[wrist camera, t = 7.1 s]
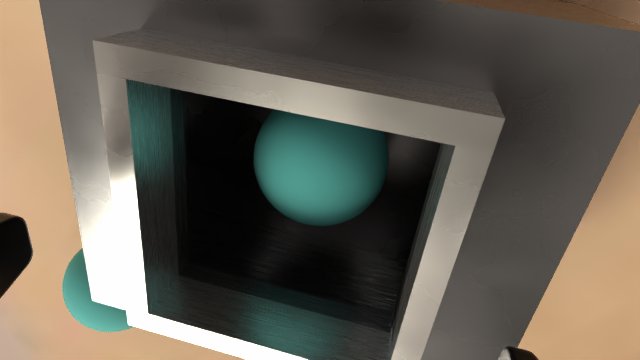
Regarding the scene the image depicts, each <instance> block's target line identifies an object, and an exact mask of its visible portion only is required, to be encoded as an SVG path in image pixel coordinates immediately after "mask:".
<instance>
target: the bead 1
mask: <svg viewBox="0 0 640 360" xmlns="http://www.w3.org/2000/svg"><path fill="white" fill-rule="evenodd" d="M63 297H64V301H65V304H66V306H67V308H68V310H69V312H70V313H71V314H72V316H73V317H74V318H75V319H76V320H77V321H78V322H80V323H81V324H83V325H84V326H86V327H88V328H91V329H94V330H97V331H103V332H116V331H122V330H126V329H129V328H132V327H134V326H132V325H128V318H127V311H126V310H123V309H119V308H116V307H112V306H109V305H105V304H102V303H98V302H95V301H92V297H91V291H90V285H89V280H88V274H87V268H86V263H85V257H84V251H83V248H82V249H81V250H80V251H79V252H78V253H77V254H76V255H75V256H74V257H73V259H72V260H71V261H70V263H69V265H68V267H67V269H66V272H65V275H64V279H63Z"/></svg>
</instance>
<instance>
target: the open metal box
mask: <svg viewBox="0 0 640 360" xmlns="http://www.w3.org/2000/svg"><path fill="white" fill-rule="evenodd" d="M39 2H40V8H41V13H42V19H43V25H44V30H45V36H46V42H47V47H48V53H49V59H50V64H51V70H52V76H53V81H54V87H55V93H56V98H57V104H58V110H59V115H60V121H61V127H62V132H63V138H64V144H65V149H66V155H67V161H68V166H69V172H70V178H71V183H72V189H73V195H74V200H75V206H76V212H77V217H78V223H79V229H80V234H81V240H82V246H83V251H84V257H85V263H86V268H87V274H88V280H89V285H90V291H91V297H92V301H95V302H98V303H102V304H105V305H109V306H112V307H116V308H119V309H123V310H126V311H127V318H128V325H132V326H135V327H139V328H142V329H145V330H149V331H152V332H156V333H159V334H163V335H166V336H169V337H173V338H176V339H180V340H183V341H187V342H190V343H193V344H197V345H200V346H204V347H207V348H211V349H214V350H218V351H221V352H224V353H228V354H231V355H235V356H238V357H242V358H245V359H248V360H498V358H499V356H500V354H501V352H502V350H503V349H504V348H505V347H507V346H512V347H516V348H517V347H518V345H519V343H520V341H521V339H522V337H523V335H524V333H525V331H526V329H527V327H528V325H529V323H530V321H531V319H532V317H533V315H534V313H535V311H536V309H537V307H538V305H539V303H540V301H541V299H542V297H543V295H544V293H545V291H546V289H547V287H548V285H549V283H550V281H551V279H552V277H553V275H554V273H555V271H556V269H557V267H558V265H559V263H560V261H561V259H562V257H563V255H564V253H565V251H566V249H567V247H568V245H569V243H570V241H571V239H572V237H573V235H574V233H575V231H576V229H577V227H578V225H579V223H580V221H581V219H582V217H583V215H584V213H585V211H586V209H587V207H588V205H589V203H590V201H591V199H592V197H593V195H594V193H595V191H596V189H597V187H598V185H599V183H600V181H601V179H602V177H603V175H604V173H605V171H606V169H607V167H608V165H609V163H610V161H611V159H612V157H613V155H614V153H615V151H616V149H617V147H618V145H619V143H620V141H621V139H622V137H623V135H624V133H625V131H626V129H627V127H628V125H629V123H630V121H631V119H632V117H633V115H634V113H635V111H636V109H637V107H638V105H639V103H640V25H637V24H634V23H631V22H628V21H625V20H622V19H620V18H617V17H614V16H611V15H608V14H605V13H602V12H599V11H596V10H593V9H590V8H588V7H585V6H582V5H579V4H576V3H570V2H563V1H556V0H39ZM274 109H276V110H281V111H286V112H291V113H296V114H301V115H306V116H311V117H316V118H321V119H326V120H331V121H336V122H341V123H346V124H350V125H355V126H360V127H365V128H370V129H375V130H380V131H383V132H384V135H385V138H386V141H387V144H388V152H389V165H388V172H387V175H386V179H385V182H384V185H383V187H382V189H381V191H380V192H379V194H378V195H377V197H376V198H375V200H374V201H373V202H372V203H371V205H370V206H369V207H368V208H366V209H365V210H364V211H363V212H362V213H360V214H359V215H357V216H356V217H354V218H352V219H350V220H348V221H345V222H342V223H339V224H335V225H330V226H314V225H307V224H303V223H300V222H297V221H295V220H292V219H290V218H288V217H287V216H285V215H284V214H282V213H281V212H279V211H278V210H277V209H276V208H275V207H274V206H273V205H272V204H271V203H270V202H269V201H268V199H267V198H266V197H265V195H264V194H263V192H262V190H261V188H260V186H259V184H258V181H257V177H256V174H255V169H254V147H255V142H256V139H257V136H258V133H259V131H260V128H261V126H262V125H263V123H264V122H265V120H266V119H267V117H268V116H269V115H270V114H271V112H272V111H273V110H274Z"/></svg>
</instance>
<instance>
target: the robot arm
mask: <svg viewBox="0 0 640 360" xmlns="http://www.w3.org/2000/svg"><path fill="white" fill-rule="evenodd" d="M32 256H33V248H32V244H31V240H30V236H29V232H28V228H27V224H26V222H25V220H24V219H23V218H21V217H19V216H15V215H11V214H7V213H0V298H1V297H2V296H3V295H4V293H5V292H6V291H7V290H8V289H9V287H10V286H11V285H12V284H13V282H14V281H15V280H16V279H17V278H18V276H19V275H20V274H21V273H22V271H23V270H24V269H25V268H26V267H27V265H28V264H29V263H30V261H31V259H32ZM498 360H538V358H537V357H536V356H535V355H534V354H533V353H532V352H530V351H527V350H523V349H519V348H516V347H512V346H507V347H505V348H504V349H503V350H502V352H501V354H500V356H499V358H498Z"/></svg>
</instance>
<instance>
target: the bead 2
mask: <svg viewBox="0 0 640 360" xmlns="http://www.w3.org/2000/svg"><path fill="white" fill-rule="evenodd" d="M388 165H389V152H388V144H387V141H386V138H385V135H384V132H383V131H380V130H375V129H370V128H365V127H360V126H355V125H350V124H346V123H341V122H336V121H331V120H326V119H321V118H316V117H311V116H306V115H301V114H296V113H291V112H286V111H281V110H276V109H274V110H273V111H272V112H271V114H270V115H269V116H268V117H267V119H266V120H265V122H264V123H263V125H262V126H261V128H260V131H259V133H258V136H257V139H256V142H255V147H254V169H255V174H256V177H257V181H258V184H259V186H260V188H261V190H262V192H263V194H264V195H265V197H266V198H267V199H268V201H269V202H270V203H271V204H272V205H273V206H274V207H275V208H276V209H277V210H278V211H279V212H281V213H282V214H284V215H285V216H287V217H288V218H290V219H292V220H295V221H297V222H300V223H303V224H307V225H314V226H330V225H335V224H339V223H342V222H345V221H348V220H350V219H352V218H354V217H356V216H357V215H359V214H360V213H362V212H363V211H364V210H365V209H366V208H368V207H369V206H370V205H371V203H372V202H373V201H374V200H375V198H376V197H377V195H378V194H379V192H380V191H381V189H382V187H383V185H384V182H385V179H386V175H387V172H388Z"/></svg>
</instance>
